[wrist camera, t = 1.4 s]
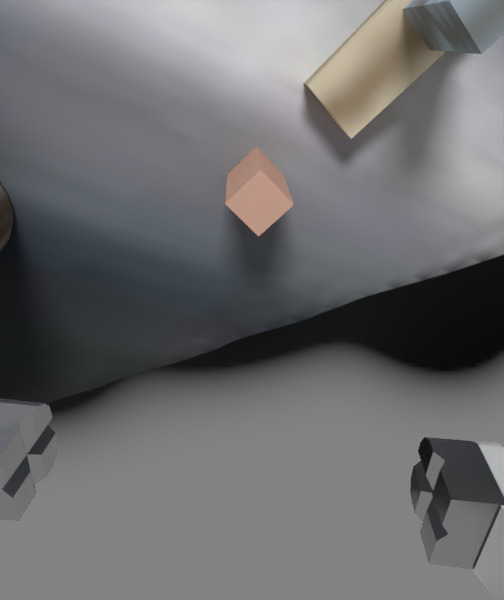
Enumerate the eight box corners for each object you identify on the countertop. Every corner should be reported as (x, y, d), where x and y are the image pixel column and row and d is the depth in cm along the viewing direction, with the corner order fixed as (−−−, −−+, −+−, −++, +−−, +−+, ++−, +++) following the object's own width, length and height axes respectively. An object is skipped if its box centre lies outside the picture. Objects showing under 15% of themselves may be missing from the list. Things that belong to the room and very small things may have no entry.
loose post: (227, 175, 45) (225, 203, 37) (256, 145, 43) (260, 169, 35) (255, 203, 46) (258, 236, 38) (284, 175, 45) (293, 204, 37)
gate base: (303, 83, 41) (326, 98, 30) (435, -52, 36) (515, -88, 26) (344, 132, 43) (378, 163, 33) (473, 12, 38) (561, 3, 28)
